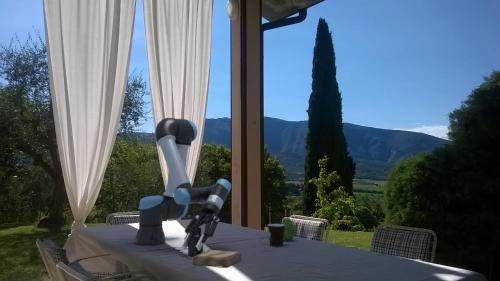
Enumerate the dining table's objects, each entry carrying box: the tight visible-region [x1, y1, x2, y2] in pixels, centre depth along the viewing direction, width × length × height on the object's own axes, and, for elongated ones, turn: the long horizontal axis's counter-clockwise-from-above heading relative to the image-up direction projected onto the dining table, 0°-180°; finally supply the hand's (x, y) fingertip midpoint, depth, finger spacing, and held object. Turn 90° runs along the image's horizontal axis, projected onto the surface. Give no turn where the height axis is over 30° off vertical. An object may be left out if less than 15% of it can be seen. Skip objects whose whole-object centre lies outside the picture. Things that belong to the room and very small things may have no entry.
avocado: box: [281, 217, 296, 242], centre depth 232 cm, size 8×8×12 cm
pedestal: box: [192, 249, 242, 268], centre depth 179 cm, size 15×15×3 cm
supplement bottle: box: [187, 227, 204, 258], centre depth 192 cm, size 7×7×12 cm
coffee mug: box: [267, 223, 285, 247], centre depth 220 cm, size 12×9×10 cm
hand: (190, 247), depth 188 cm, fingers closed on supplement bottle, 7 cm apart
